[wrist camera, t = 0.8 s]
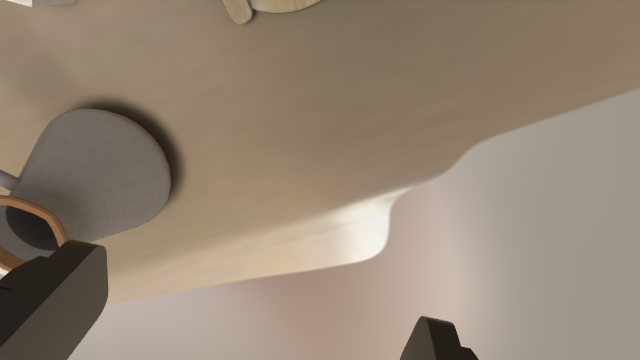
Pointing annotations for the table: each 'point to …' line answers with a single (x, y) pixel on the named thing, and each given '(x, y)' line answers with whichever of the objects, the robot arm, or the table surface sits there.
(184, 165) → the table surface
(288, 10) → the tableware set
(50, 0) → the orange white rectangular block
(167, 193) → the coffee pot
